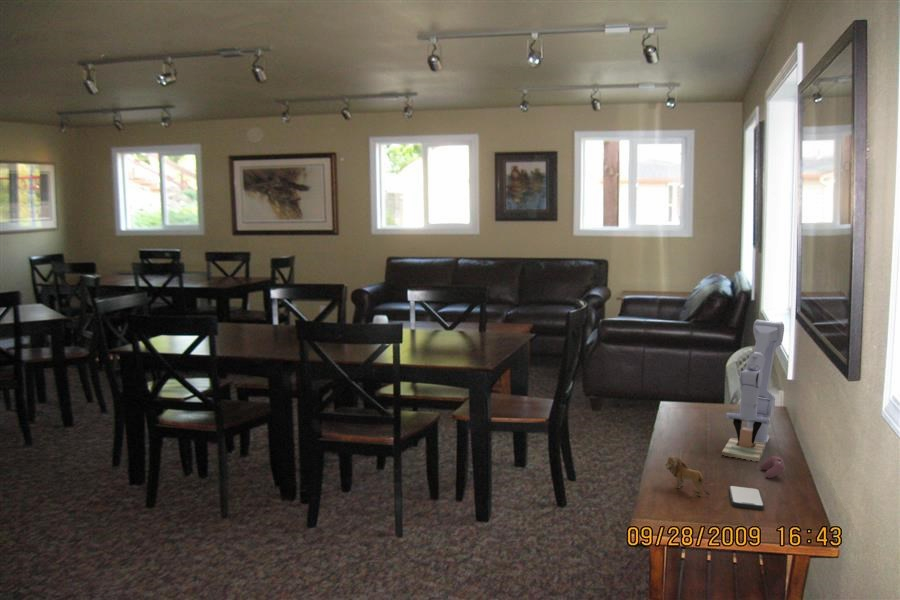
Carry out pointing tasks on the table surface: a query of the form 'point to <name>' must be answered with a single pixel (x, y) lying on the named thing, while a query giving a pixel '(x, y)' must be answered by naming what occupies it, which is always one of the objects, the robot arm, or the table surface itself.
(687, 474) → the lion figurine
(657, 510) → the table surface
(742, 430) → the terracotta block
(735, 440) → the board
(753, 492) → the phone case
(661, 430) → the table surface
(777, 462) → the video game controller
